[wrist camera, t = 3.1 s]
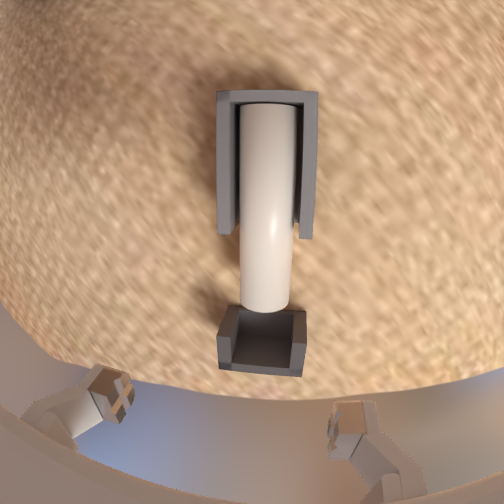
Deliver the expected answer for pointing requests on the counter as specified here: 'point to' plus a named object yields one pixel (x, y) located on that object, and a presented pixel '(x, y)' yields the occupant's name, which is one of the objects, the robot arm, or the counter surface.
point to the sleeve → (230, 153)
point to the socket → (262, 341)
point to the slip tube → (267, 204)
